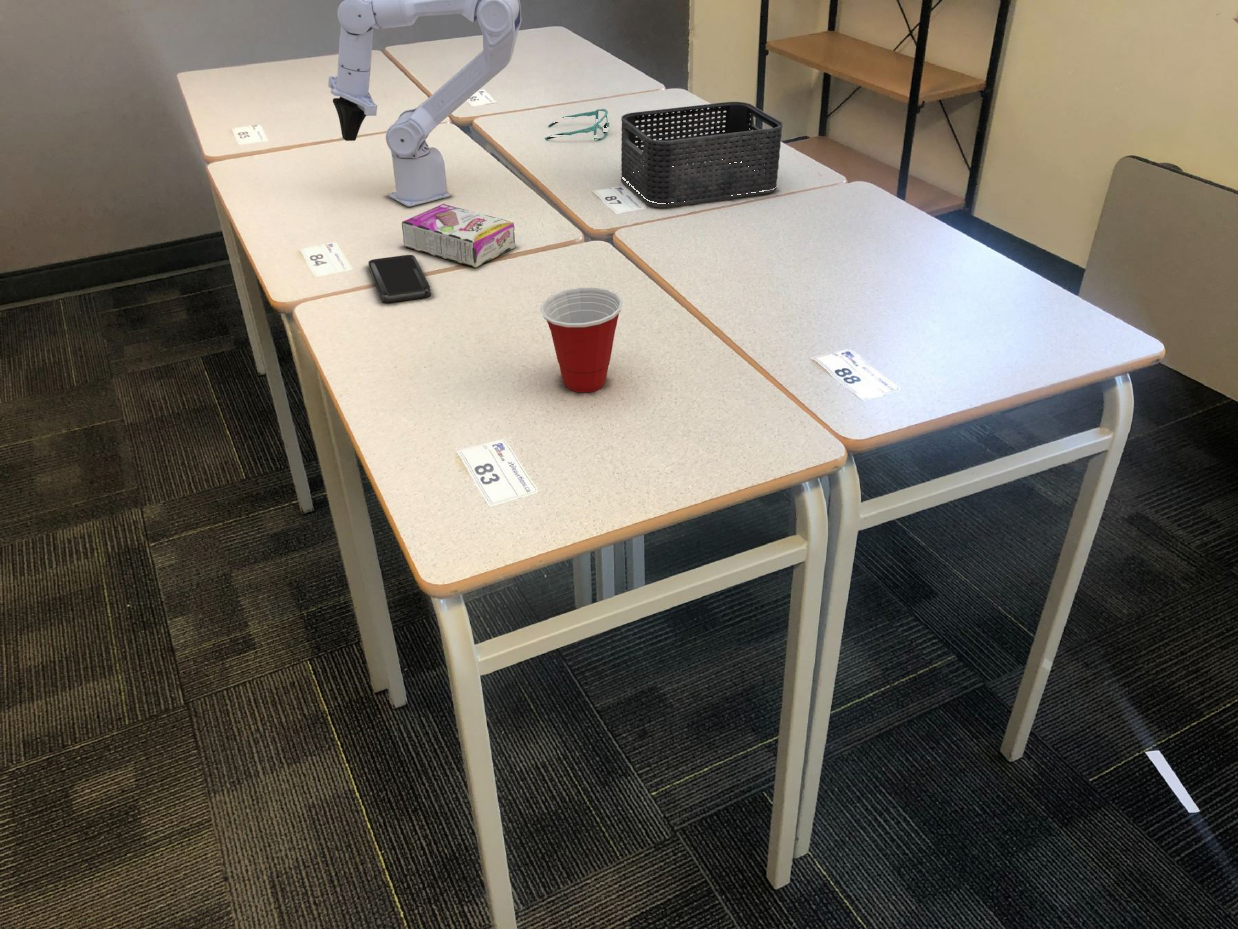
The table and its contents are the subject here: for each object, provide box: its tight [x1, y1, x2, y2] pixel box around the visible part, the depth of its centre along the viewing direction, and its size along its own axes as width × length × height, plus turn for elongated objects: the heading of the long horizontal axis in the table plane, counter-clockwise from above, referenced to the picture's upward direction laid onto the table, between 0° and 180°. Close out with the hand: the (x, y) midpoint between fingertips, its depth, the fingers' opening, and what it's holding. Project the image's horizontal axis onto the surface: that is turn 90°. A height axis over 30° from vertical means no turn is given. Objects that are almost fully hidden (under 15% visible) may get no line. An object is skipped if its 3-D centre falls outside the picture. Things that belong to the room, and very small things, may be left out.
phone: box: [367, 254, 432, 304], centre depth 155 cm, size 8×1×15 cm
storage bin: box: [620, 101, 784, 209], centre depth 190 cm, size 29×19×13 cm
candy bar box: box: [401, 203, 516, 269], centre depth 165 cm, size 11×5×16 cm
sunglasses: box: [544, 108, 610, 141], centre depth 221 cm, size 14×15×5 cm
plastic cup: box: [539, 286, 624, 394], centre depth 126 cm, size 11×11×12 cm
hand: (349, 139), depth 181 cm, fingers closed
